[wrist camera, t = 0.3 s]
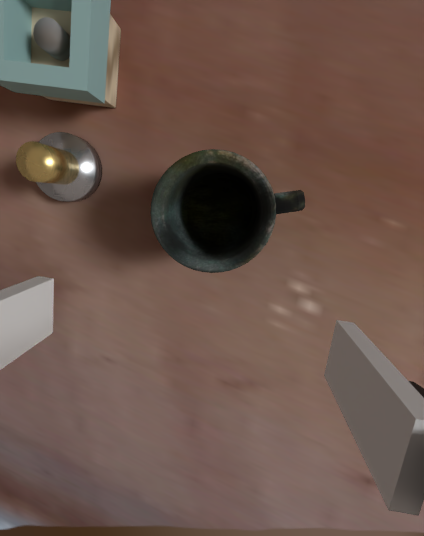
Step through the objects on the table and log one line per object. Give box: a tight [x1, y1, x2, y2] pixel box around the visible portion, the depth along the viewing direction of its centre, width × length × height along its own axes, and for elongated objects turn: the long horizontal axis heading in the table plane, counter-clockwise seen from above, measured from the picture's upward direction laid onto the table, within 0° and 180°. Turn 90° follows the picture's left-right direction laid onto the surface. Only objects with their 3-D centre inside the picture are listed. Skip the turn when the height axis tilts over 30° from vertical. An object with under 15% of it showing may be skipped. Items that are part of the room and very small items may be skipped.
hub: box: [16, 132, 102, 201], centre depth 37 cm, size 8×8×8 cm
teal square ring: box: [0, 0, 111, 104], centre depth 31 cm, size 10×10×4 cm
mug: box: [151, 149, 305, 273], centre depth 34 cm, size 11×15×12 cm
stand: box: [31, 7, 121, 108], centre depth 34 cm, size 8×8×7 cm
